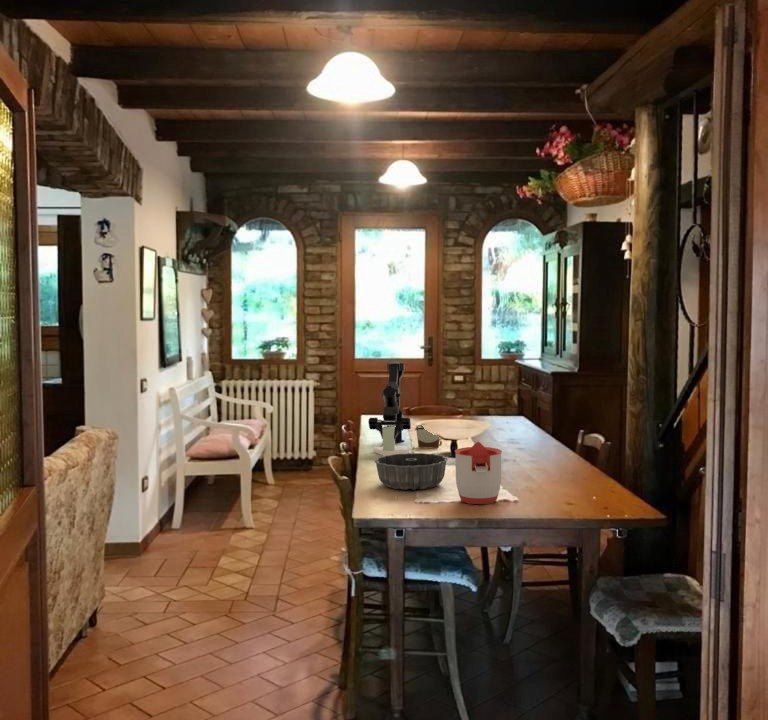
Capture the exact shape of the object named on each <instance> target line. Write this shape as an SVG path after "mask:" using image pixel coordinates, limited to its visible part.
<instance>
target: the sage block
mask: <svg viewBox="0 0 768 720" xmlns="http://www.w3.org/2000/svg"><path fill="white" fill-rule="evenodd" d="M382 427H383V428H382V430H383V439H382V447H383V451H394V450H395V446H396V442H395V439H394V433H395V427H396V426H384V425H383V426H382Z"/></svg>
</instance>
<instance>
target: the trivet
mask: <svg viewBox="0 0 768 720" xmlns="http://www.w3.org/2000/svg"><path fill="white" fill-rule="evenodd" d="M373 452H374V453H376V454H378V455H381V456H382V457H383V456H387V455H393V454H406V453H410V449H409V448H407V447H404V446H401V445H399V444H398V445H396V444H395V450H394V451H383V446H375V447H373Z"/></svg>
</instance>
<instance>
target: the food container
mask: <svg viewBox="0 0 768 720" xmlns="http://www.w3.org/2000/svg"><path fill="white" fill-rule="evenodd" d="M422 425H423V424H418V425H416V426H415V428H414V431H416V438H417V445H418V447H439V446H440V439H441V438H440V437H441V436H440V437H438V436H436V435H433V434H432V433H430V432H428V431H427V430H425V429H424V427H423V426H422Z"/></svg>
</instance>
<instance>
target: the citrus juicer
mask: <svg viewBox="0 0 768 720" xmlns="http://www.w3.org/2000/svg"><path fill="white" fill-rule="evenodd" d="M454 453H455V481H456V488H457V492H458V495H459V498H460V501H461V502H463V503H466V504H467V505H486V504H487V505H492V504H493V503H495V502H496V501H497V500H498V497H499V493H500V490H501V485H502V449H500V448H496V447H487V446H484V445H483V444H482V443H481V442H480V441H477V442H475V443H474V444H473V445H472V446H467V447H466V446H465V447H461V448H457V449H455V450H454Z"/></svg>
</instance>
